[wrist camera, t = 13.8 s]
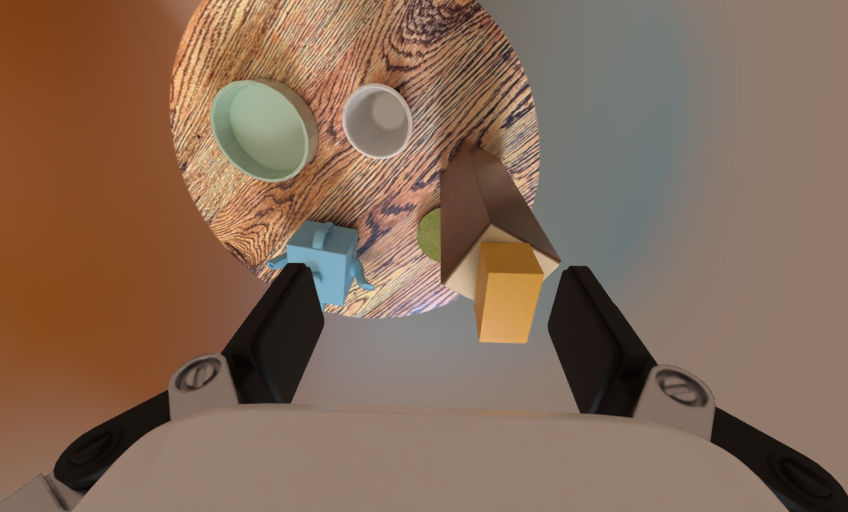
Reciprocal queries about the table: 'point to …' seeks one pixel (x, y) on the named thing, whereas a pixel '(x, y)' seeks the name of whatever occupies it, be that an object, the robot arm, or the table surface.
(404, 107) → the dixie cup
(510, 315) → the yellow rectangular block
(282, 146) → the bowl
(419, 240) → the mat
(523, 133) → the table surface
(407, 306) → the table surface
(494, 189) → the stand
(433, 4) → the table surface
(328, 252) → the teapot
